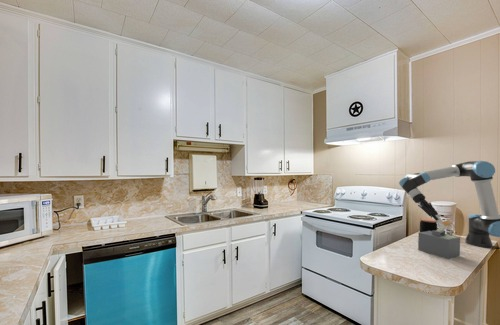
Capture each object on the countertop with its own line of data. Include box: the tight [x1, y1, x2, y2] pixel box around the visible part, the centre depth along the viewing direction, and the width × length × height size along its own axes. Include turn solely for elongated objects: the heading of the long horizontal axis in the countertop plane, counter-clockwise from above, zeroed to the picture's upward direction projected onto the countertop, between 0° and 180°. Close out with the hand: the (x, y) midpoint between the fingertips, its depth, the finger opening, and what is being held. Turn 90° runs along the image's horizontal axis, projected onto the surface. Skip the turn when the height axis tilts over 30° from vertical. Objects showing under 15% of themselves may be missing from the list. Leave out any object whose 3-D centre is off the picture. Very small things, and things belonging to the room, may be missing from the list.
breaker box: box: [417, 230, 461, 260], centre depth 164 cm, size 14×18×15 cm
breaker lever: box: [436, 220, 453, 234], centre depth 162 cm, size 6×2×11 cm
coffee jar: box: [419, 217, 438, 232], centre depth 185 cm, size 11×11×18 cm
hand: (442, 224), depth 162 cm, fingers closed
